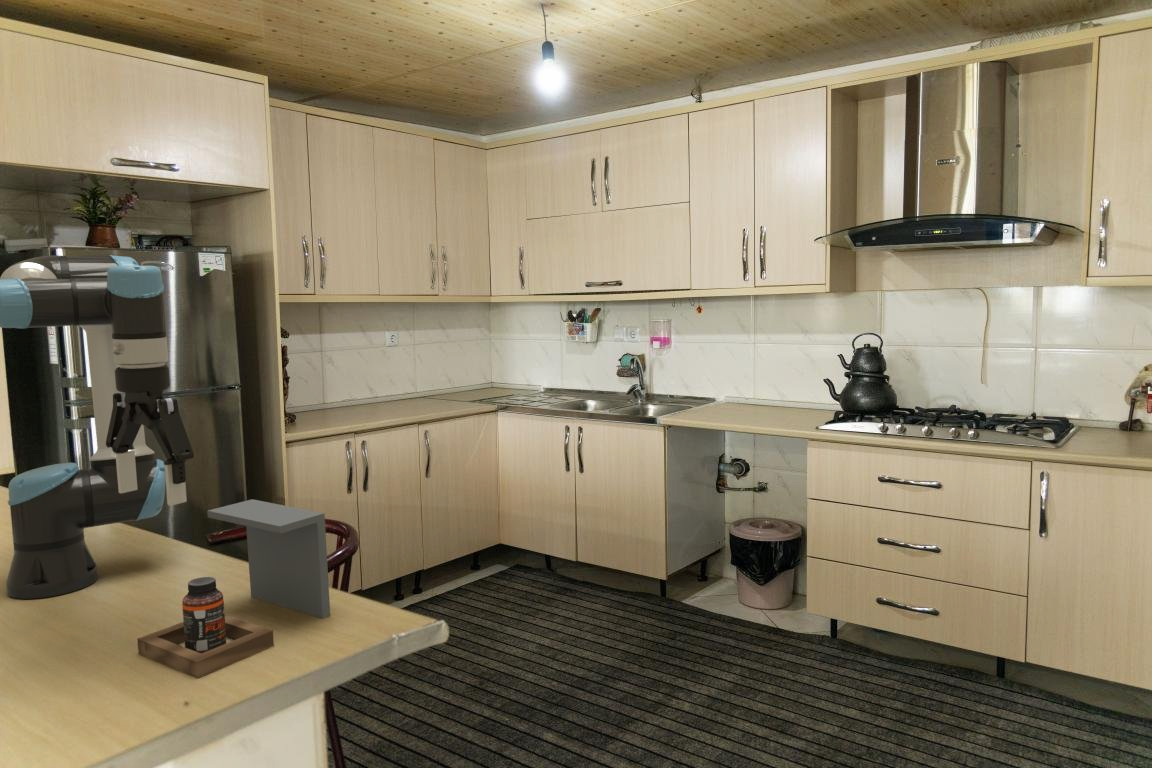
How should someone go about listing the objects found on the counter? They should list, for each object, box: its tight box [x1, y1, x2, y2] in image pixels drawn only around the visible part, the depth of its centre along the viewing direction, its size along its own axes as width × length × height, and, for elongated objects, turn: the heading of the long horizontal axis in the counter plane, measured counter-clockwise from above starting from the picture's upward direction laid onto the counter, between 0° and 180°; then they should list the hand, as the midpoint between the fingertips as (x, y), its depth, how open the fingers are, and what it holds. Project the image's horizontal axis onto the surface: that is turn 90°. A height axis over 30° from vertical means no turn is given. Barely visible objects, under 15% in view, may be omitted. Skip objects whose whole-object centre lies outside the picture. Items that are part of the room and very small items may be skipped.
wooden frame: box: [136, 614, 275, 679], centre depth 129 cm, size 16×13×2 cm
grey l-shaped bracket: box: [206, 498, 331, 619], centre depth 143 cm, size 20×9×18 cm, turn 57°
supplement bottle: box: [181, 576, 227, 654], centre depth 129 cm, size 6×6×11 cm
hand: (152, 497), depth 131 cm, fingers open, 13 cm apart
